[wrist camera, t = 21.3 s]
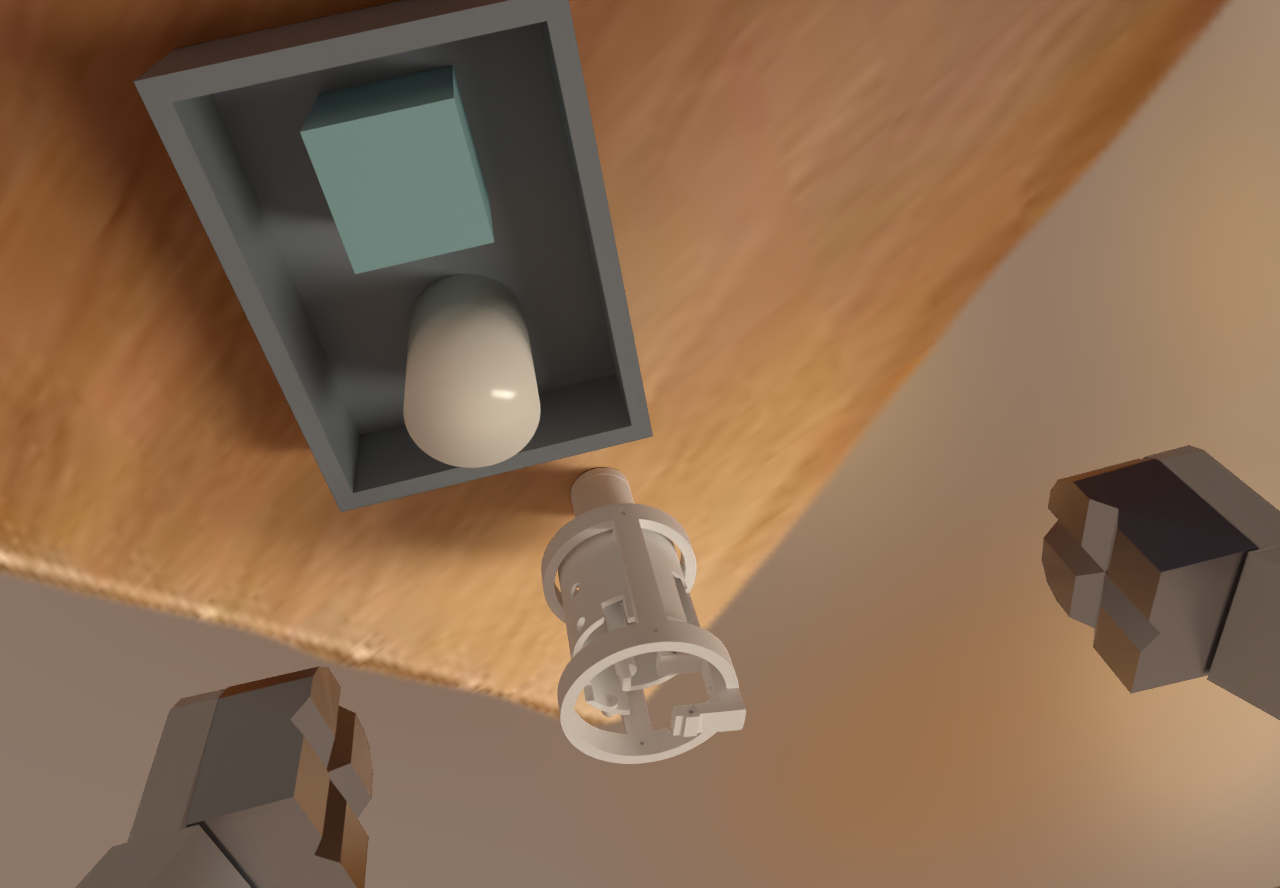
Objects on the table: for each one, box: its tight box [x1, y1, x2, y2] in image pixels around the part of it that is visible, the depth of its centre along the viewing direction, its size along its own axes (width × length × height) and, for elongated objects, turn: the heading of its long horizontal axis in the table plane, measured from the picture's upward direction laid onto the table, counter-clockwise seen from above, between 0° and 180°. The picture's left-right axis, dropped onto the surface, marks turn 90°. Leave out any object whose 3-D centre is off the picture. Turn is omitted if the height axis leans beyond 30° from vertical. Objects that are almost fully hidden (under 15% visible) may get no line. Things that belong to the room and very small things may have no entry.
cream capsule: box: [403, 274, 541, 468], centre depth 36 cm, size 5×5×7 cm
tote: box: [134, 0, 653, 512], centre depth 35 cm, size 18×14×5 cm
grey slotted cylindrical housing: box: [541, 468, 746, 764], centre depth 40 cm, size 7×7×15 cm
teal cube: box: [300, 65, 494, 274], centre depth 32 cm, size 5×5×5 cm
